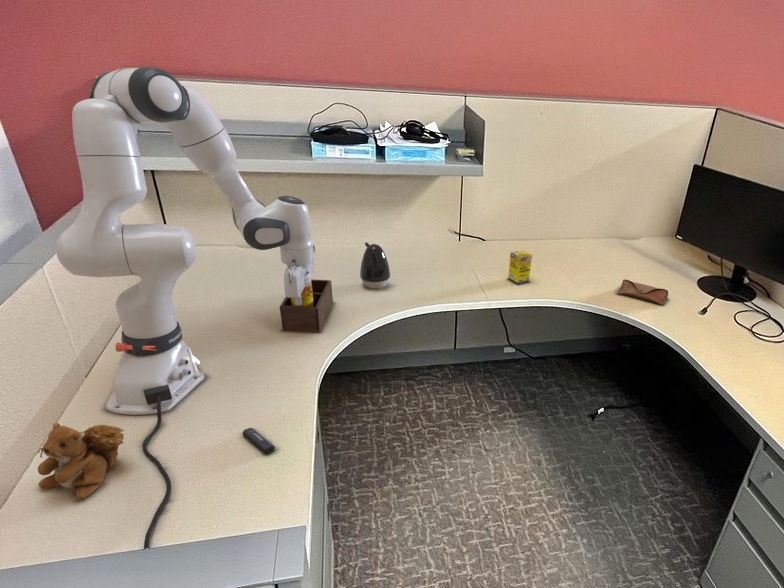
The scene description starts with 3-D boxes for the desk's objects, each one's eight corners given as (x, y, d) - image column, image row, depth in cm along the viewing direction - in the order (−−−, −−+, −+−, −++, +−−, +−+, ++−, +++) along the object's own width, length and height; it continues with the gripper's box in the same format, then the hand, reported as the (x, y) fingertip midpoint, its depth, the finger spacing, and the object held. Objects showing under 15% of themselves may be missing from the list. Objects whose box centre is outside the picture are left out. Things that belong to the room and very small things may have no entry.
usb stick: (276, 450, 122) (275, 444, 121) (265, 456, 120) (264, 450, 119) (253, 430, 126) (252, 425, 126) (241, 435, 125) (240, 430, 124)
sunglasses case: (616, 293, 210) (621, 276, 210) (618, 296, 217) (623, 280, 217) (663, 305, 205) (669, 287, 205) (664, 308, 212) (669, 291, 211)
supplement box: (517, 285, 210) (520, 257, 204) (507, 279, 214) (510, 252, 208) (529, 281, 214) (532, 254, 208) (519, 276, 217) (521, 249, 212)
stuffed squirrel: (34, 490, 106) (9, 436, 99) (105, 447, 118) (86, 395, 111) (72, 507, 104) (49, 453, 97) (141, 461, 115) (124, 409, 108)
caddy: (319, 332, 166) (317, 308, 162) (282, 331, 165) (279, 306, 161) (333, 302, 184) (331, 280, 180) (299, 301, 183) (296, 278, 179)
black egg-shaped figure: (379, 277, 204) (378, 237, 197) (396, 287, 198) (395, 246, 191) (354, 283, 198) (352, 242, 190) (371, 294, 192) (369, 251, 184)
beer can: (308, 325, 167) (303, 278, 159) (289, 321, 168) (284, 274, 160) (318, 316, 172) (314, 270, 164) (299, 312, 173) (295, 267, 165)
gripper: (300, 269, 151) (305, 315, 158) (316, 242, 168) (319, 285, 175) (275, 268, 150) (281, 314, 157) (294, 241, 167) (298, 284, 174)
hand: (302, 298), depth 166 cm, fingers closed on beer can, 6 cm apart
